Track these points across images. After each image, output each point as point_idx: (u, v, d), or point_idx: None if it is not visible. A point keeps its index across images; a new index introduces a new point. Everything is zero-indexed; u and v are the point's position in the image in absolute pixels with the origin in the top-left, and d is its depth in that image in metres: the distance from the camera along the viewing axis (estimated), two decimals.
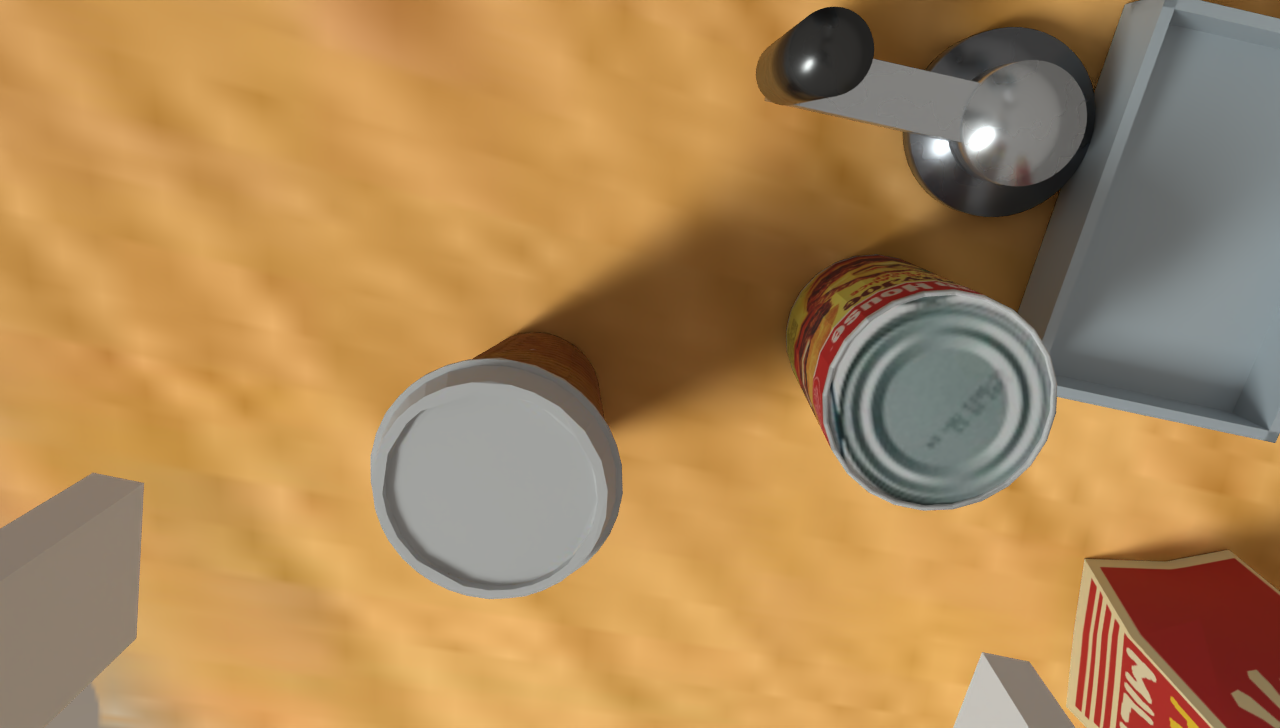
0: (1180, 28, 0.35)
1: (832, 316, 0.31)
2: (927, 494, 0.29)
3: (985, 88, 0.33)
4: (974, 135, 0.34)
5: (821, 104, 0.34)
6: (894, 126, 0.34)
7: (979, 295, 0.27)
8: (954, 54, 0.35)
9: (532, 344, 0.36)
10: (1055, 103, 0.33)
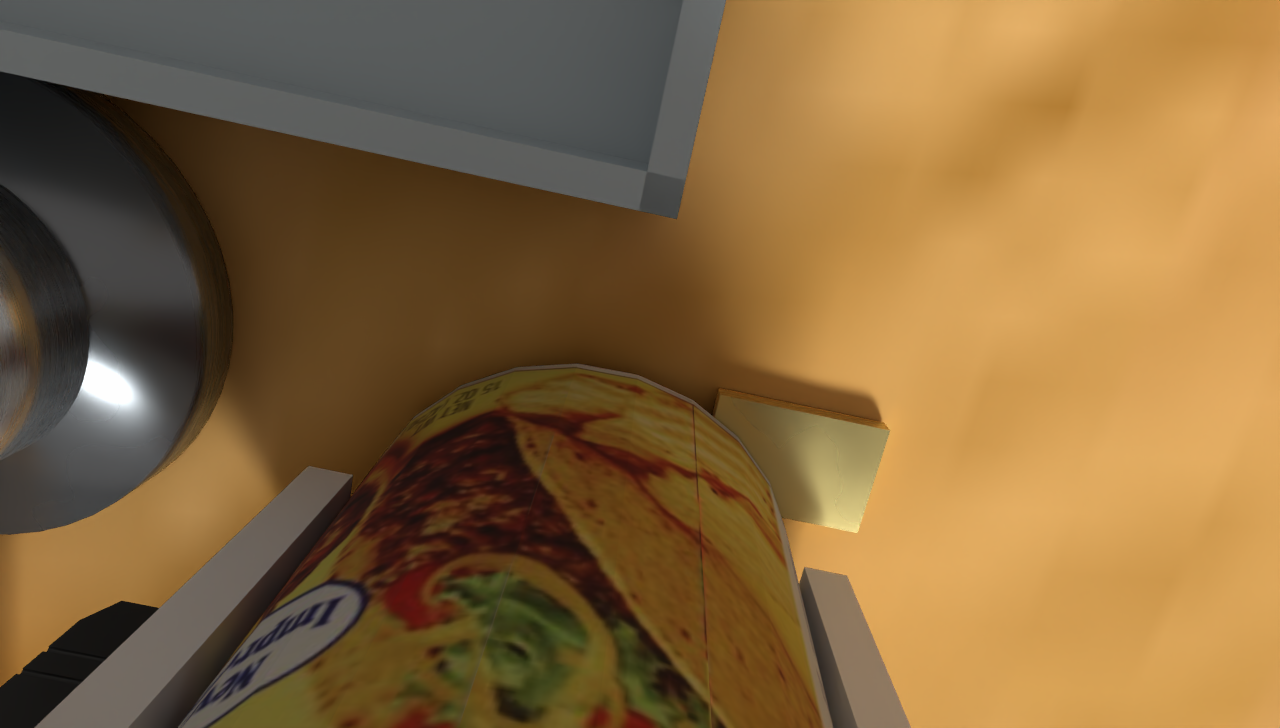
0: None
1: None
2: None
3: None
4: None
5: None
6: None
7: None
8: None
9: None
10: None
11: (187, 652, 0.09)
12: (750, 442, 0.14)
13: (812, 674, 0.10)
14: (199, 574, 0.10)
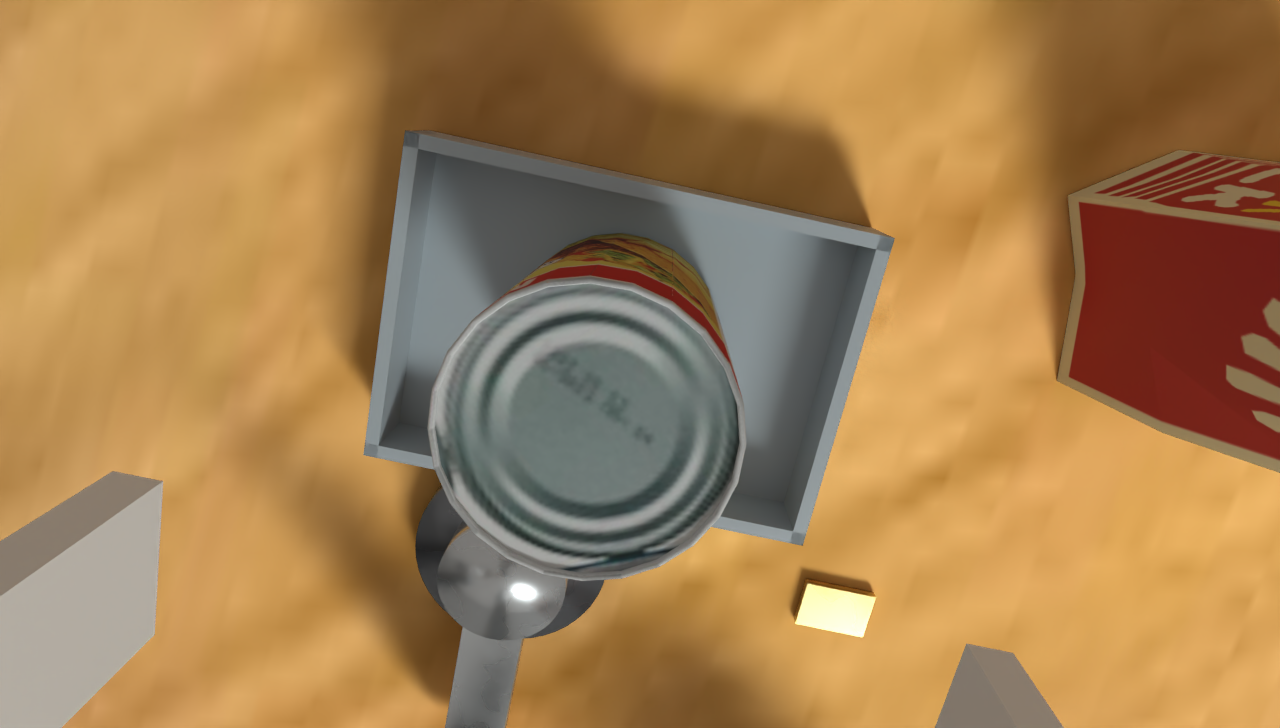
0: (406, 379, 0.33)
1: None
2: (723, 437, 0.20)
3: (467, 624, 0.32)
4: (514, 629, 0.32)
5: None
6: (509, 695, 0.33)
7: (431, 397, 0.20)
8: None
9: None
10: (478, 558, 0.31)
11: None
12: (819, 601, 0.35)
13: (714, 310, 0.26)
14: None
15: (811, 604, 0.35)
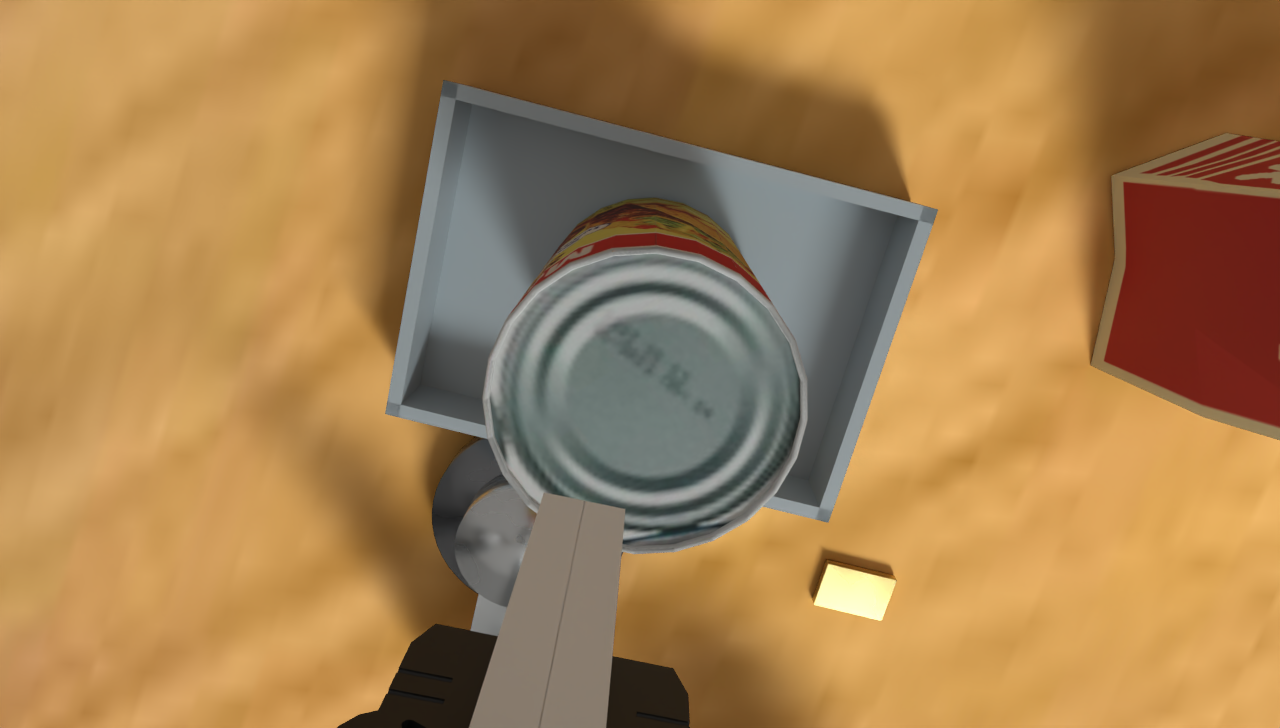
0: (430, 339, 0.32)
1: None
2: (783, 413, 0.20)
3: (483, 591, 0.32)
4: None
5: None
6: None
7: (487, 366, 0.19)
8: (460, 572, 0.34)
9: None
10: (497, 524, 0.31)
11: (543, 674, 0.10)
12: (839, 582, 0.35)
13: None
14: (510, 600, 0.11)
15: (831, 585, 0.35)
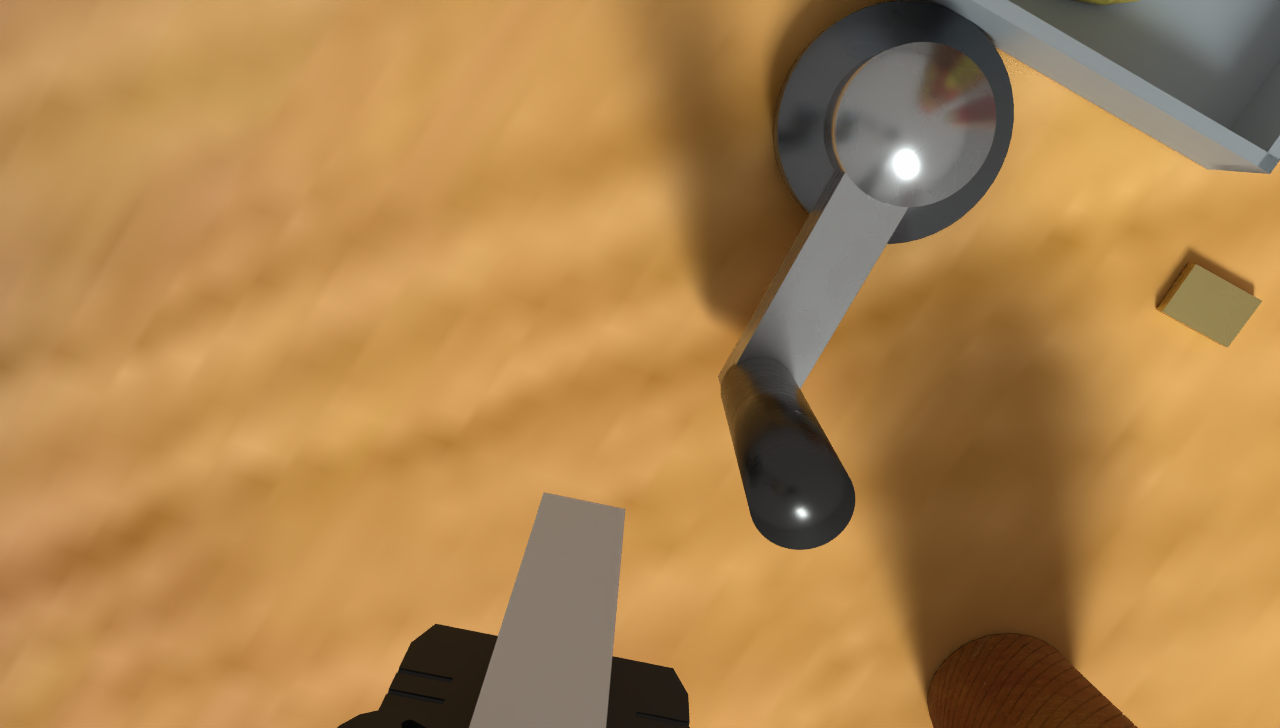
0: None
1: None
2: None
3: (854, 170, 0.26)
4: (906, 193, 0.26)
5: (806, 364, 0.28)
6: (860, 285, 0.27)
7: None
8: (792, 173, 0.28)
9: None
10: (903, 83, 0.25)
11: (543, 674, 0.10)
12: (1199, 290, 0.30)
13: None
14: None
15: (1189, 291, 0.30)
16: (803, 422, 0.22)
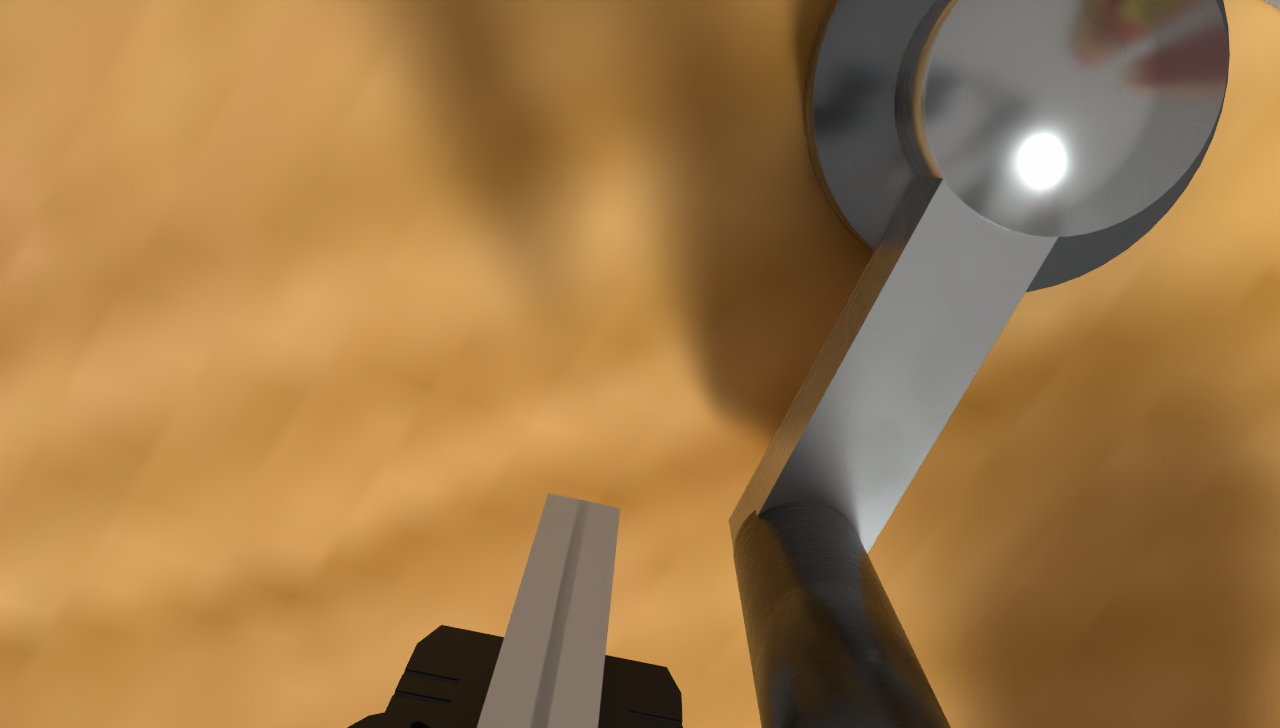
0: None
1: None
2: None
3: (961, 175, 0.14)
4: (1057, 212, 0.14)
5: (879, 511, 0.16)
6: (971, 375, 0.16)
7: None
8: (838, 174, 0.17)
9: None
10: (1051, 9, 0.14)
11: (550, 675, 0.10)
12: None
13: None
14: (516, 601, 0.11)
15: None
16: None
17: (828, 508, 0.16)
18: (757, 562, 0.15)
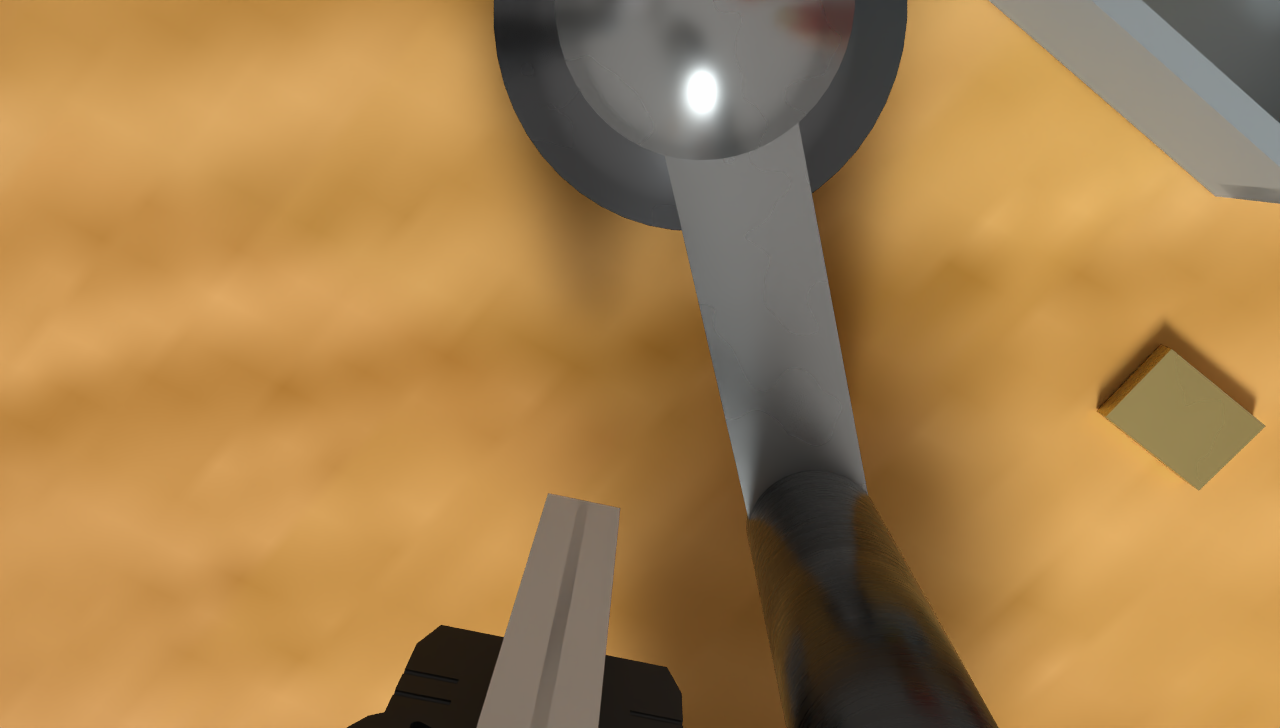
0: None
1: None
2: None
3: (672, 143, 0.14)
4: (776, 107, 0.14)
5: (846, 445, 0.16)
6: (826, 283, 0.15)
7: None
8: (514, 76, 0.16)
9: None
10: None
11: (549, 675, 0.10)
12: (1169, 392, 0.18)
13: None
14: (515, 600, 0.11)
15: (1153, 392, 0.18)
16: (865, 684, 0.10)
17: (799, 473, 0.16)
18: (756, 568, 0.15)
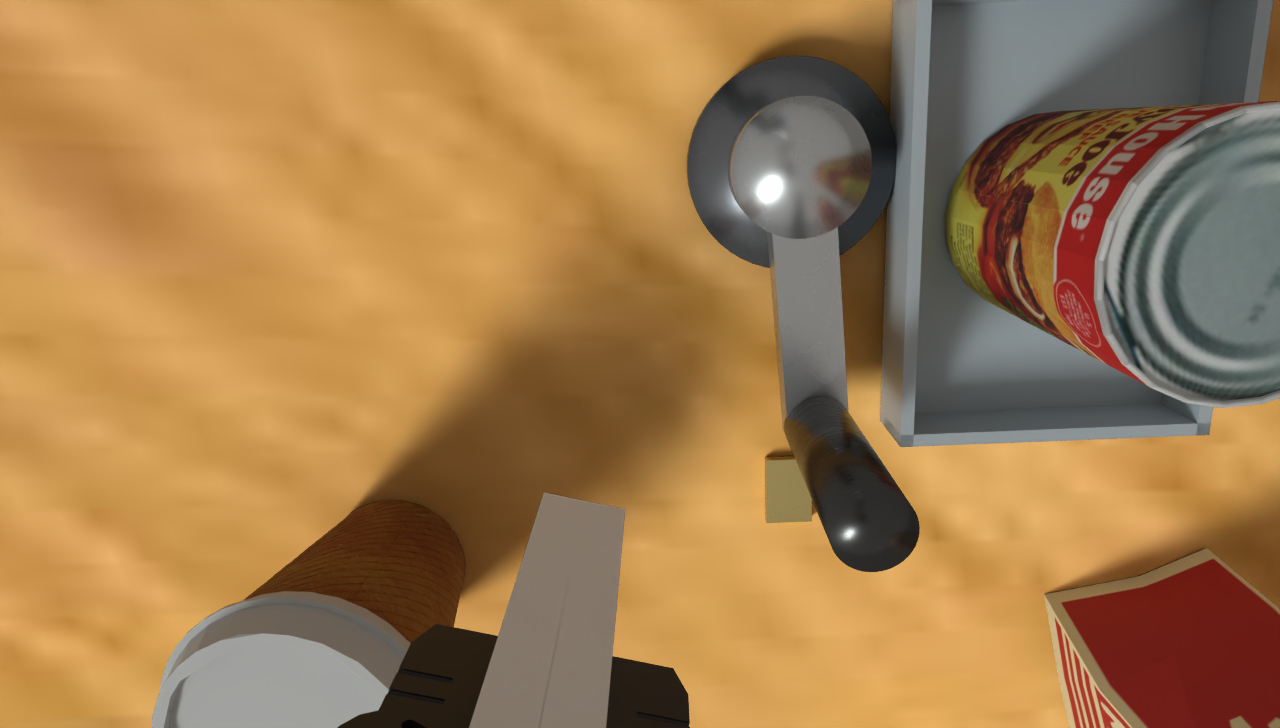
0: (962, 6, 0.30)
1: (1048, 199, 0.24)
2: (1262, 382, 0.22)
3: (777, 229, 0.30)
4: (828, 218, 0.30)
5: (840, 385, 0.32)
6: (841, 303, 0.31)
7: (1279, 102, 0.20)
8: (713, 106, 0.31)
9: (349, 533, 0.33)
10: (770, 146, 0.29)
11: (543, 674, 0.10)
12: (795, 474, 0.36)
13: None
14: (510, 600, 0.11)
15: (790, 468, 0.36)
16: (846, 461, 0.26)
17: (815, 397, 0.32)
18: (791, 438, 0.31)
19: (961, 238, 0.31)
